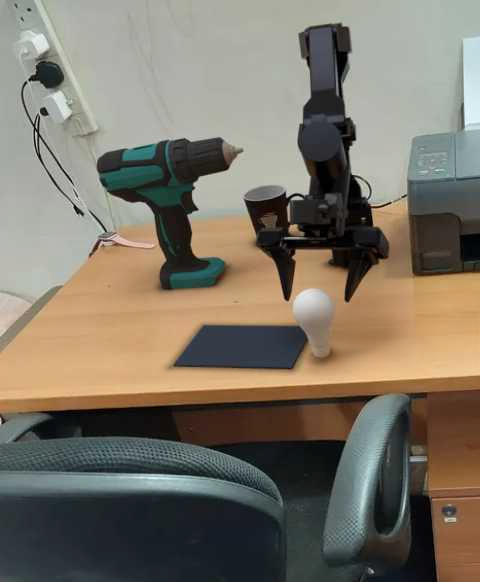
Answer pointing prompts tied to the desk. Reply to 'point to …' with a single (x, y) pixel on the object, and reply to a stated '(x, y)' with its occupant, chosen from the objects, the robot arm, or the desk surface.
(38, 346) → the desk surface
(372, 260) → the robot arm
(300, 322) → the white rounded smooth part
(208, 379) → the desk surface
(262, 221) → the coffee mug
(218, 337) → the felt mat
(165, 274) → the power drill
